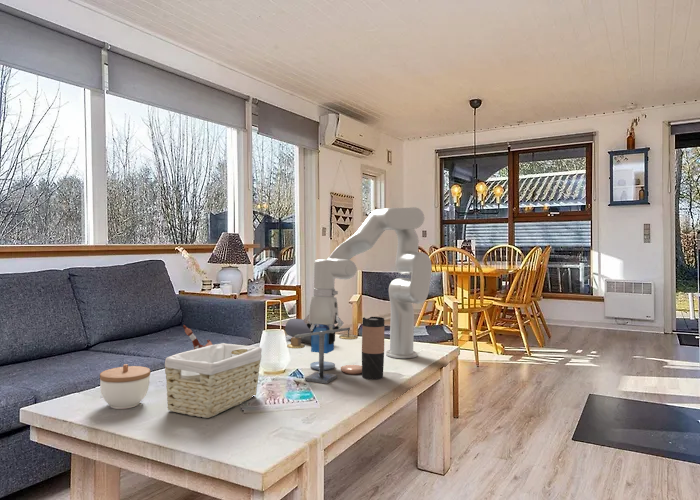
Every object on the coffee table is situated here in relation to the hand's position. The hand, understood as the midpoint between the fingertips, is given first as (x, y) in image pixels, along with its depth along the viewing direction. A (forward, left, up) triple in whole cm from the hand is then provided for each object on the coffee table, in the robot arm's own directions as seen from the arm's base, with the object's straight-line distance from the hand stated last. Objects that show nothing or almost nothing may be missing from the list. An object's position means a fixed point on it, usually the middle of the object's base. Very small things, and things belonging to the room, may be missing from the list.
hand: (322, 342), depth 178 cm
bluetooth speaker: (-40, -26, -10) cm, 48 cm away
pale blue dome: (0, 0, -9) cm, 9 cm away
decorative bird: (+28, -31, -10) cm, 43 cm away
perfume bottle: (0, 0, -3) cm, 3 cm away
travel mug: (+4, +21, -10) cm, 23 cm away
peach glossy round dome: (0, +12, -9) cm, 15 cm away
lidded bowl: (+60, -31, -10) cm, 68 cm away
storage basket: (+49, -10, -10) cm, 51 cm away
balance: (+14, +6, -9) cm, 18 cm away
